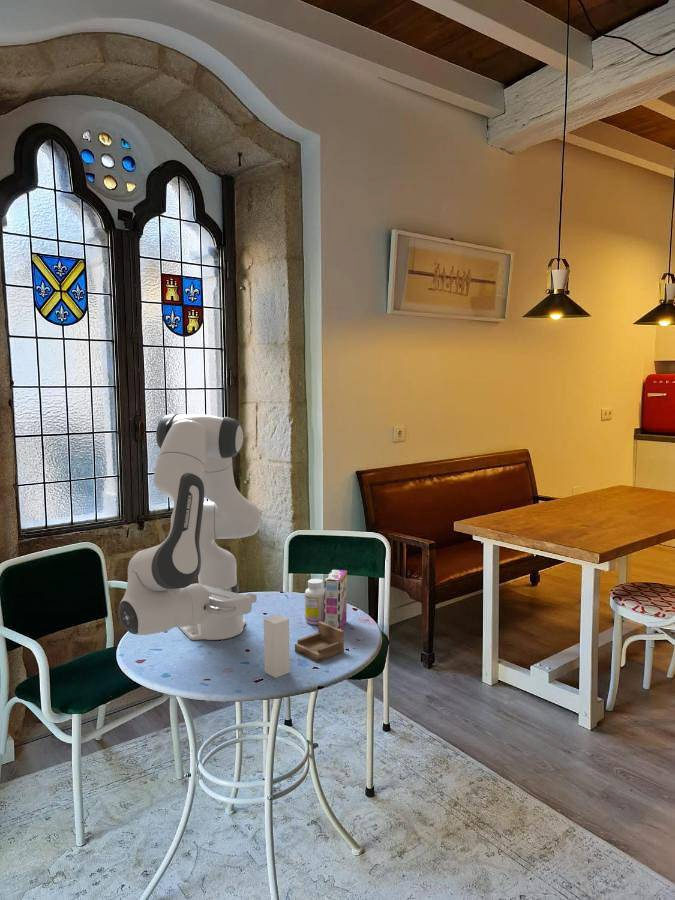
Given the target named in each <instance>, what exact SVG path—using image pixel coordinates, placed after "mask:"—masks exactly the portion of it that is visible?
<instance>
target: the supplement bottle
mask: <svg viewBox="0 0 675 900" xmlns="http://www.w3.org/2000/svg"><path fill="white" fill-rule="evenodd" d="M307 586H308V588H306V589H305V591H304V610H305V611H304V614H305V618H304V619H305V622H306V623H307V624H309V625H312V624H313V626H314V625H315V626H316V625H317V626H318V622H320V621H321V622H324V587H323V586H324V579H321V578H311V579H309V580H308V581H307Z"/></svg>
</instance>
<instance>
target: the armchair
mask: <svg viewBox="0 0 675 900" xmlns="http://www.w3.org/2000/svg"><path fill="white" fill-rule="evenodd" d="M317 627H318V628H317V632H315V633H313V634H310V635H308V636H305V637H301V638H298V639H297V643H294V653H295V652H296V653H297V654H299V653H300V654H299V655H301V654H302V655H301V656H303V655H304V657H306V658H308V659H310V660H312V661H314V662H316V663H319V662H322V661H325V660H328V659H330V658H332V657H335V656H338V655H340V654H341V653H342V652H343V653H344V652H345V630H343V629H342V630H341V629H338V628H336V627H334V626H331V625H329V624H326V623H324V622H321V621H320V622H318V625H317ZM339 653H340V654H339Z"/></svg>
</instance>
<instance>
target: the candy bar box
mask: <svg viewBox="0 0 675 900" xmlns="http://www.w3.org/2000/svg"><path fill="white" fill-rule="evenodd" d="M323 582H324V585H323V586H324V587H323V588H324V623H326V624H329V625H331V626H334V627H336V628H338V629H341V630H343V628H344V627H345V625H346V623H347V613H348V612H347V611H348V610H347V606H348V605H347V604H348V603H347V602H348V600H347V599H348V597H347V594H348V590H347V589H348V570H345V569H344V570H343V569H332V570H331V571H330V572H329V573H328V575H327V576H326V577H325V579H323Z"/></svg>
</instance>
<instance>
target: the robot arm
mask: <svg viewBox="0 0 675 900" xmlns="http://www.w3.org/2000/svg"><path fill="white" fill-rule="evenodd" d="M155 432H156V433H155V434H156V435H155V438H156V439H155V440H156V443H157V446H158V448H160V449H159V452H158V456H157V459H156V462H155V463H156V464H155V467H154V471H153V472H154V473H153V474H154V475H153V483H154V486H155V487H156V488H157V490H158V492H160V493H161V494H162V495H164V496H165V497H167V498H169V499H172V500H173V508H172V509H173V510H172V513H171V516H170V527H169V528H170V529H169V532H168V536H167V537H166V538H165V539H164V540H163V541H162V542H161V543H160V544H158V545H154V546H150V547H148V548H145V549H142V550H139V551H137V552H136V553H134V554H133V555H132V557H131V558H130V559H129V561H128V563H127V564H128V565H127V569H126V575H127V583H126V589H125V592H124V595H123V598H122V599H121V601H120V602H119V606H118V618H119V620H120V622H121V624H122V626H123V627H124V628H125V630H126V631H127V632H129V634H132V635H136V636H148V635H156V634H160V633H165V632H168V631H170V630H172V629H174V628H178V629H180V630H181V631H182V632H183V633H184V634H185V635H186V637H188V639H189V640H192V641H195V640H196V641H197V640H209V641H210V640H211V641H215V640H217V641H218V640H226V639H231V638H233V637H237V636H238V635H240V634H241V633H242V632H243V631H244V626H246V624H247V619H245V618H244V616H243V615H248V614H251V612H252V607H253V605H252V604H253V603H256V602H257V600H258V599H257V594H254V593H247V594H246V595H245V594H240V593H239V591H240V590H239V583H238V582H237V576H238V575H237V559H236V557H235V556H234V554H233V553H231V552H230V551H229V550H226V549H225V548H222V547H220V546H218V544H217V543H216V541H215V540H217V539H218V540H221V539H223V540H224V539H242V538H246V537H250V536H254V535H255V534H256V533H257V531H259V529H260V526H261V522H262V515H261V512H260V509H259V508H258V506H257V505H256V504H255V503H254V502H252V501H250V500H248V499H247V498H246V497H244V496H243V494H242V493H241V492H240V491H239V490H238V487H237V486H236V482H235V477H234V470H233V469H234V468H233V458H234V457H235V456H237V455H238V454H239V453H240V451H241V448H242V445H243V443H244V432H243V427H242V424H241V423H240V422H239V421H238V420H237V419H236V418H231V417H228V416H224V417H222V416H218V415H212V414H203V413H201V414H178V413H171V414H166V415H164V416H162V418H161V419H160V420H159V421H158V424H157V427H156V431H155ZM205 499H208V500H207V501H205ZM209 500H210V501H209ZM197 579H198V583H197V582H196V583H194V582H195V581H196V580H197Z"/></svg>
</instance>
